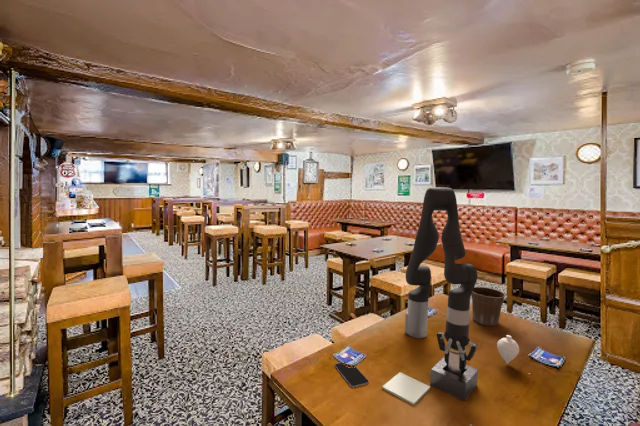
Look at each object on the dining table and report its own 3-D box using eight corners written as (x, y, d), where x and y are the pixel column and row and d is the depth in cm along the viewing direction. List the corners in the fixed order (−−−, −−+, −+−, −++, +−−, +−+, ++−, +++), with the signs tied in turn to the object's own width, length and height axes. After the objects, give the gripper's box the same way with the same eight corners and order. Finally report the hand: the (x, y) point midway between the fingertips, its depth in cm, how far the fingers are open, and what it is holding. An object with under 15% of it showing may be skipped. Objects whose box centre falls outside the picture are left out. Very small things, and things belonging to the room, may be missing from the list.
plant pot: (503, 319, 171) (505, 290, 169) (502, 331, 157) (505, 299, 156) (470, 312, 179) (472, 284, 178) (466, 323, 166) (468, 293, 164)
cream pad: (382, 388, 111) (382, 386, 111) (399, 374, 120) (399, 372, 120) (413, 405, 103) (414, 403, 103) (430, 388, 111) (430, 386, 111)
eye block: (430, 385, 114) (430, 369, 113) (443, 371, 122) (444, 356, 122) (464, 401, 105) (465, 384, 105) (476, 385, 114) (478, 369, 113)
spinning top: (506, 371, 123) (509, 341, 122) (491, 360, 130) (493, 332, 129) (522, 368, 125) (525, 339, 124) (506, 358, 132) (508, 330, 131)
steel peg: (444, 385, 114) (446, 347, 112) (449, 379, 117) (451, 343, 116) (457, 391, 110) (460, 352, 109) (462, 385, 114) (465, 347, 113)
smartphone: (350, 360, 128) (370, 382, 114) (350, 362, 128) (370, 384, 114) (333, 364, 125) (351, 386, 111) (333, 366, 125) (351, 389, 111)
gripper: (433, 316, 114) (430, 362, 115) (475, 329, 104) (472, 379, 105) (442, 310, 119) (439, 354, 121) (483, 322, 109) (479, 370, 111)
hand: (454, 365), depth 113 cm, fingers closed on steel peg, 4 cm apart
